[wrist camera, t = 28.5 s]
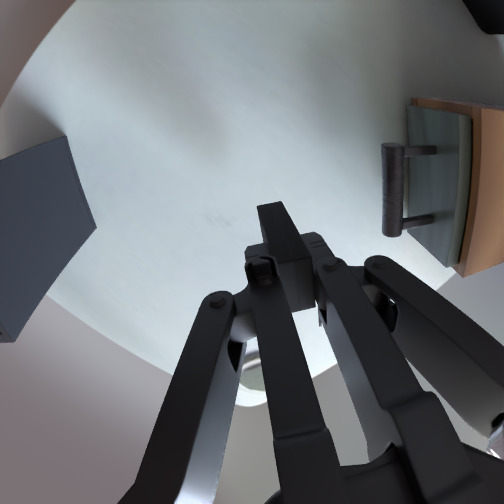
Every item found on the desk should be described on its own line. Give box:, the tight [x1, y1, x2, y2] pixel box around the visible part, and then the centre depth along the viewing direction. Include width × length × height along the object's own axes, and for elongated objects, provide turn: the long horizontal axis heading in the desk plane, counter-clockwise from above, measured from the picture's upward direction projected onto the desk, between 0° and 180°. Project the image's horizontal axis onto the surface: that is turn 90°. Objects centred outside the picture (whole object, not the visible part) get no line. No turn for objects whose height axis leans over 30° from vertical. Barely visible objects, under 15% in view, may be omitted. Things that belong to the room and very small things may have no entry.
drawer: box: [381, 106, 473, 268], centre depth 17 cm, size 19×10×6 cm, turn 100°
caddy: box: [0, 136, 97, 343], centre depth 13 cm, size 6×8×12 cm
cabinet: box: [412, 98, 504, 278], centre depth 17 cm, size 16×12×8 cm
